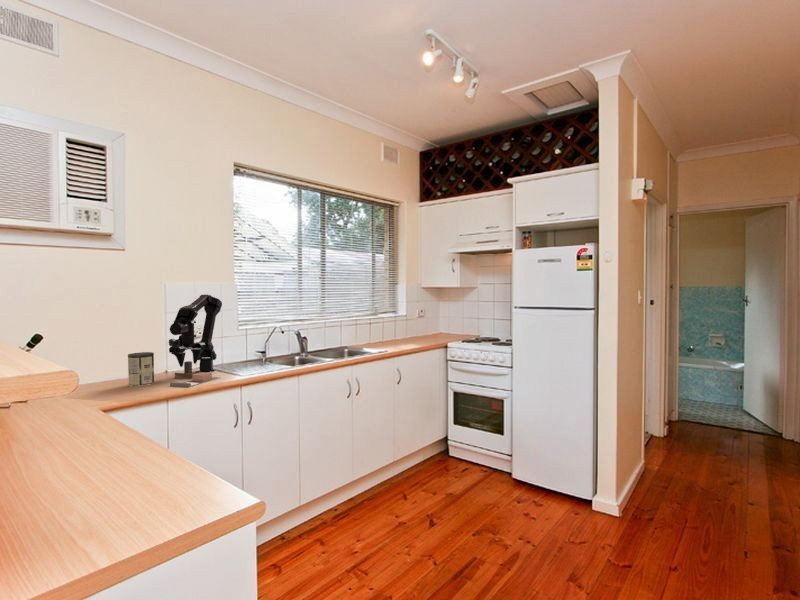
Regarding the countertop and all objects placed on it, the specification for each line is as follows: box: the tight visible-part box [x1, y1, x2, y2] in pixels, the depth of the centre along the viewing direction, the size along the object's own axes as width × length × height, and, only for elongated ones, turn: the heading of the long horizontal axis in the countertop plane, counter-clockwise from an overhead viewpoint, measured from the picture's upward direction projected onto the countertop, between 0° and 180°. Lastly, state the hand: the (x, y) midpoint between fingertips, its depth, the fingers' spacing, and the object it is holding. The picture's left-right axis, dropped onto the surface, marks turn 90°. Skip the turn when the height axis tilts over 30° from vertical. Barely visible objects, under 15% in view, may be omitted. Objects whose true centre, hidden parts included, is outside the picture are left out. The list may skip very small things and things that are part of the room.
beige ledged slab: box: [174, 360, 194, 380], centre depth 218 cm, size 6×10×8 cm, turn 75°
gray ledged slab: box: [169, 376, 220, 388], centre depth 207 cm, size 22×10×2 cm, turn 165°
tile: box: [191, 372, 213, 382], centre depth 211 cm, size 6×6×3 cm
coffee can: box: [127, 351, 155, 388], centre depth 203 cm, size 10×10×14 cm
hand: (188, 365), depth 219 cm, fingers open, 9 cm apart
